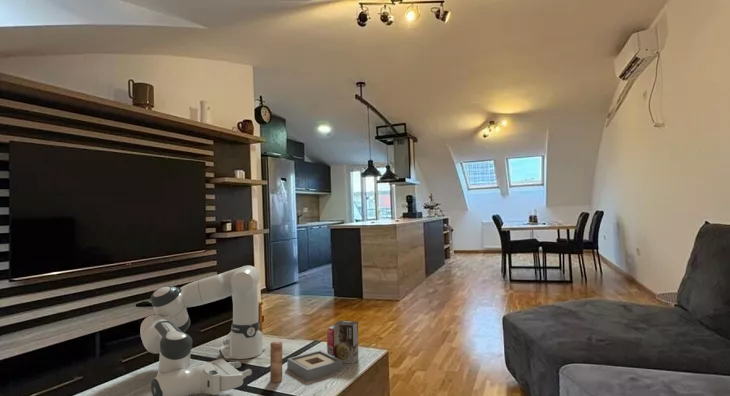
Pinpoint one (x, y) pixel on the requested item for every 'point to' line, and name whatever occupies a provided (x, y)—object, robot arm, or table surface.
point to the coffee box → (346, 341)
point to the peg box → (314, 365)
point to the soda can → (330, 340)
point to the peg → (276, 362)
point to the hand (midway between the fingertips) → (245, 367)
